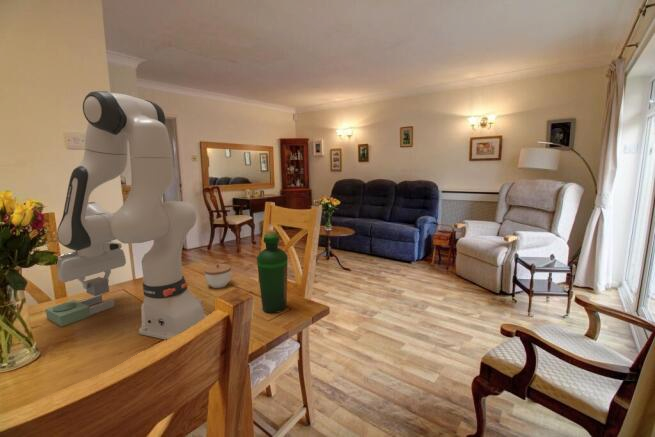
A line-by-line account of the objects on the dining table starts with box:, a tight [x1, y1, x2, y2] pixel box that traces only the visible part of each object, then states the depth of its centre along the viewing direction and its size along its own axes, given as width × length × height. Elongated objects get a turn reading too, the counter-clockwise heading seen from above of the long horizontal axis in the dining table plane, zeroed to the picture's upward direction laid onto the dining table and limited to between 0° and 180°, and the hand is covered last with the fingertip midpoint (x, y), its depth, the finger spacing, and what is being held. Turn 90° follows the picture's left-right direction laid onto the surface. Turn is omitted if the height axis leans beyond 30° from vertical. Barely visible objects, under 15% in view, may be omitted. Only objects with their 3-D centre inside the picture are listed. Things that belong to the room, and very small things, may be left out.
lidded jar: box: [203, 263, 232, 289], centre depth 131 cm, size 11×11×9 cm
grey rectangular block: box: [84, 276, 110, 297], centre depth 113 cm, size 6×4×4 cm
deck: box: [45, 294, 116, 327], centre depth 109 cm, size 11×16×4 cm
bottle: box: [256, 229, 288, 314], centre depth 109 cm, size 11×11×28 cm
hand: (96, 285), depth 113 cm, fingers closed on grey rectangular block, 4 cm apart
